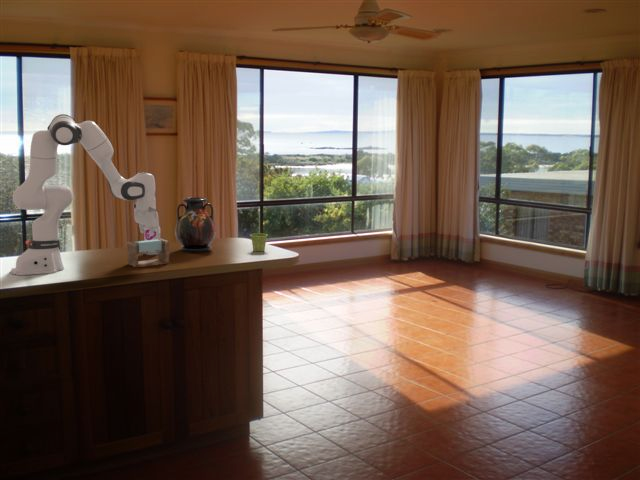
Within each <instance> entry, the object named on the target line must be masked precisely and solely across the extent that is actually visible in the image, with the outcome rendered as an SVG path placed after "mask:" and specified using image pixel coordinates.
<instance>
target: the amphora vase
mask: <svg viewBox="0 0 640 480" xmlns="http://www.w3.org/2000/svg"><path fill="white" fill-rule="evenodd" d="M182 202H183V203H179V204H178V205H177V207H176V224H175V228H174V235H175V238H176V240H177V241H178V242H179V244H180V245H181V246H180V247H179V249H180V250H181V252H184V253H192V254H193V253H196V254H197V253H205V252H209V251H211V250H212V246H211V244H212V242H213V241H214V239H215V238H216V234H217V231H216V230H217V229H216V225H215V224H216V223H215V222H214V207H213V205H212V204H211V203H209V202H208V198H206V197H194V196H193V197H185V198H183V199H182ZM206 202H208V203H206ZM207 206H209V207H210V214H209V213H208V212H207V211H206V207H207ZM181 207H184V211H183V212H182V214H181V215H180V208H181Z"/></svg>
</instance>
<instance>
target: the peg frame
mask: <svg viewBox="0 0 640 480" xmlns="http://www.w3.org/2000/svg"><path fill="white" fill-rule="evenodd" d="M158 240H162V250H155V252H156V251H157V252H158V253H159V254H158V258H156V259H149V260H146V259H145V260H140V261H139V255H142V254H143V252H138V246H137V244H136V243H134V242H135V241H127V242H126V244H127V264H128V265H129V266H132V267H133V268H139V267H142V268H143V267H149V266H158V265H159V264H160V265H167V264H170V245H169V240H166V239H164V238H161V239H158ZM160 265H159V266H160Z"/></svg>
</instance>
